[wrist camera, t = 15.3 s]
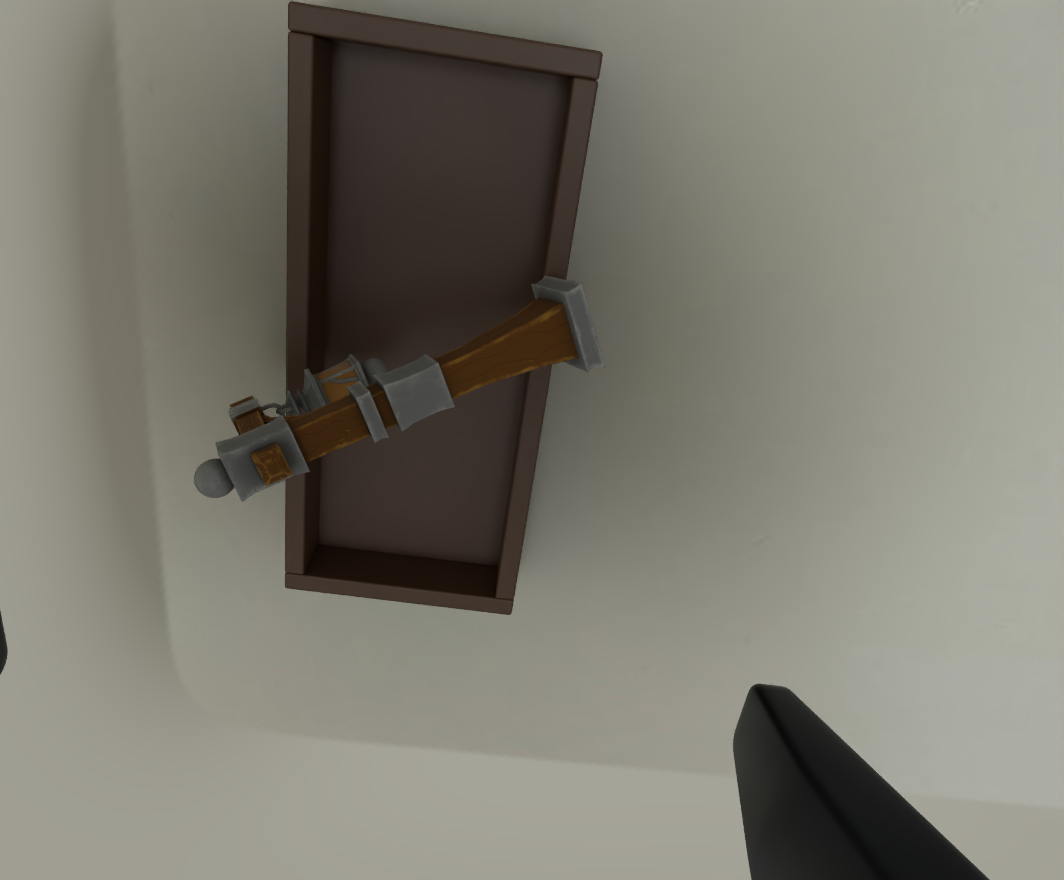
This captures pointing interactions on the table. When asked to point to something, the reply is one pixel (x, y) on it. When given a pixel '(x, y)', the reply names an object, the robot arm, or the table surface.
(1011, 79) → the table surface
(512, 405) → the walnut tray
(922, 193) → the table surface
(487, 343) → the wooden post with brackets
